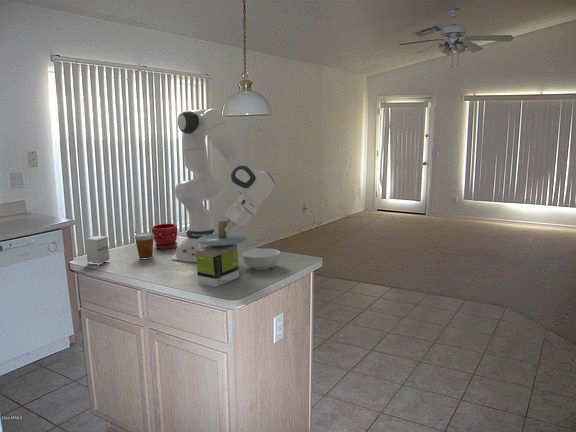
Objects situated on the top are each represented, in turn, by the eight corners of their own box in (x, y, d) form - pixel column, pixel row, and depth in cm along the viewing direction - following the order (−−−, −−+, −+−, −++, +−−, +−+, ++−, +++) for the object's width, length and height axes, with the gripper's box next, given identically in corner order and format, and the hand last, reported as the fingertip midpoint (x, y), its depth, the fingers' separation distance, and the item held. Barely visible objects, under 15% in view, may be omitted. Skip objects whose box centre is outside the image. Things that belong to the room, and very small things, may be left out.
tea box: (222, 274, 213) (220, 241, 211) (239, 278, 208) (238, 244, 205) (197, 283, 201) (195, 248, 199) (215, 288, 196) (213, 252, 193)
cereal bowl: (272, 260, 233) (272, 246, 232) (286, 269, 218) (285, 254, 217) (238, 265, 227) (238, 250, 226) (249, 275, 212) (249, 259, 211)
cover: (191, 245, 197) (190, 225, 195) (207, 234, 216) (206, 216, 215) (239, 245, 193) (238, 225, 192) (251, 235, 213) (251, 216, 211)
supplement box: (98, 265, 232) (95, 239, 230) (87, 264, 236) (84, 238, 233) (110, 261, 239) (108, 236, 237) (99, 260, 242) (97, 235, 240)
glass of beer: (158, 255, 248) (157, 232, 246) (150, 260, 239) (148, 236, 237) (141, 255, 250) (139, 232, 248) (132, 260, 241) (130, 236, 239)
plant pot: (159, 244, 274) (158, 223, 271) (182, 244, 271) (180, 223, 269) (148, 249, 261) (147, 227, 259) (171, 250, 258) (170, 228, 256)
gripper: (234, 196, 214) (213, 220, 213) (247, 203, 195) (223, 229, 194) (244, 206, 216) (223, 229, 215) (258, 213, 198) (235, 239, 196)
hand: (223, 229), depth 204 cm, fingers closed on cover, 3 cm apart
